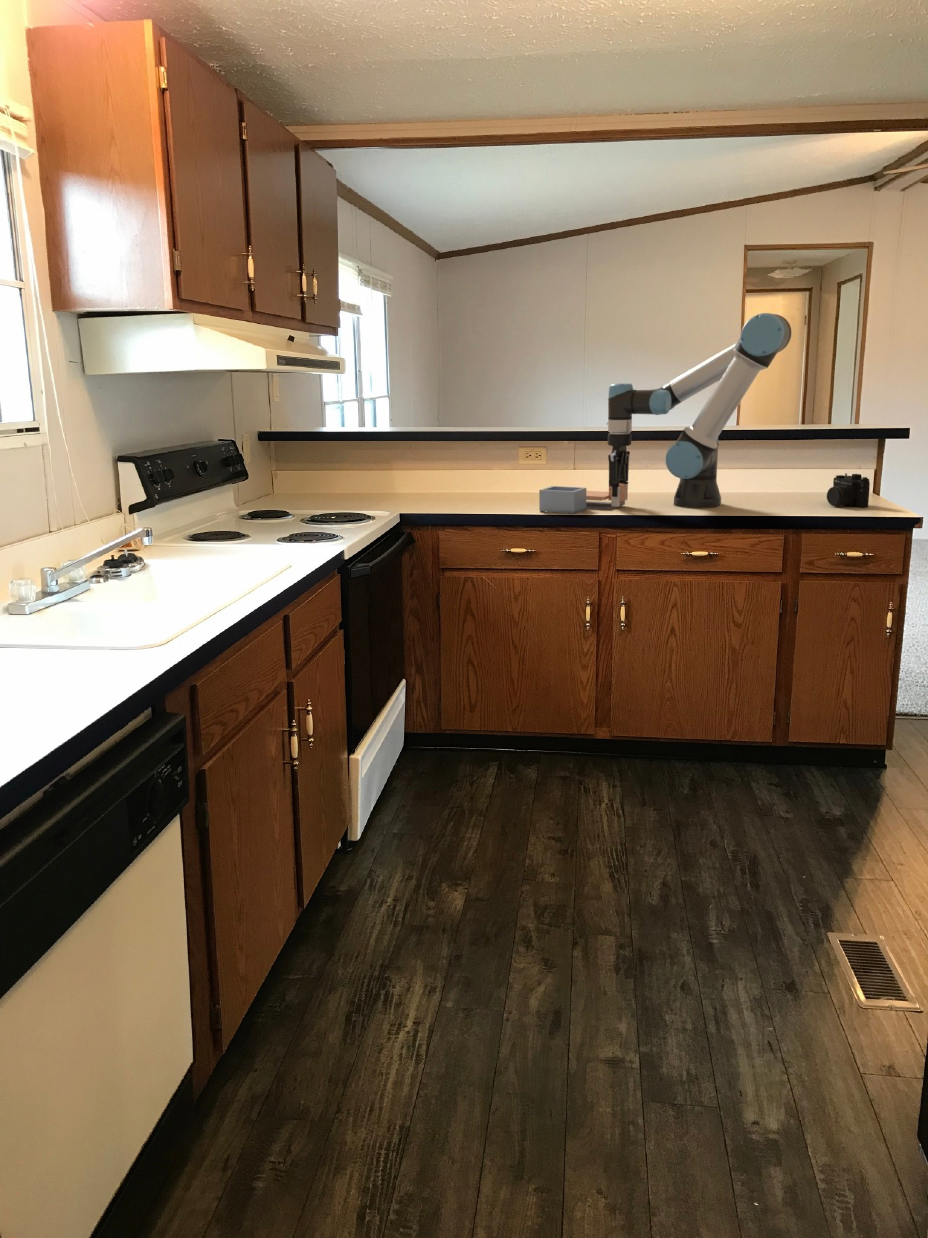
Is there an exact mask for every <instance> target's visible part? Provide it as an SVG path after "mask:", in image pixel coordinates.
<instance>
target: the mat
mask: <svg viewBox="0 0 928 1238" xmlns="http://www.w3.org/2000/svg"><path fill="white" fill-rule="evenodd" d="M621 506H622V505H620V507H621ZM616 508H617V507H612V506H611V501H595V500H586V510H587V509H588V510H591V509H592V510H602V511H603V510H604V511H605V510H607V511H610V510H611V511H612V510H613V509H616Z"/></svg>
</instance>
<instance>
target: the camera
mask: <svg viewBox="0 0 928 1238" xmlns="http://www.w3.org/2000/svg"><path fill="white" fill-rule="evenodd" d="M832 481H833V483H832V484H833V486H832V487H830V488H829V489H828V490H827V492H826V499H827V502H828V504H829V505H830V506H833V507H842V506H843V507H856V508H860V509H861V508H862V509H863V508H865V509H866V508H867V509H868V508H869V501H870V498H869V497H870V486H871V485H870V478H868V477H867V476H863V477H862V474H860V473H852V474H851V475H848V473H846V472H845V473H844V474H843V475H842V474H841V475H839V474H838V475H837V474H836V475H835V477H833V480H832Z"/></svg>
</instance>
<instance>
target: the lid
mask: <svg viewBox="0 0 928 1238" xmlns="http://www.w3.org/2000/svg"><path fill="white" fill-rule="evenodd" d="M619 487H620V501H625V502H626V501H628V497H629V496H628V493H629V492H628V491H629V483H628V484H621V483H619ZM611 491H612V487H611V486H609V485H608V491H600V490H599V491H598V490H586V501H599V502H602V501H606V500H608V501H611Z"/></svg>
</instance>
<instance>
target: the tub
mask: <svg viewBox="0 0 928 1238" xmlns="http://www.w3.org/2000/svg"><path fill="white" fill-rule="evenodd" d="M538 491H539V493H538V494H539V495H538V498H539V499H538V500H539V501H538V504H539V509H538V510H539V511H547V512H546V513H550V512H558V513H557V514H566V513H570V514H571V515H575V514H578V513H580V512H579V511H581V512H583V511H586V510H587V509H586V501H587V500H586V491H587V487H581V486H578V487H577V486H560V485H558V486H556V485H551V486H548V487H544V488H541V489H539V490H538ZM585 509H586V510H585ZM539 511H538V512H539ZM577 512H578V513H577Z"/></svg>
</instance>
